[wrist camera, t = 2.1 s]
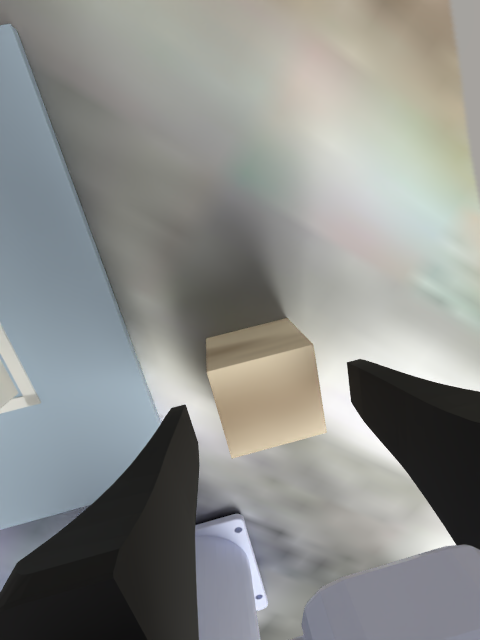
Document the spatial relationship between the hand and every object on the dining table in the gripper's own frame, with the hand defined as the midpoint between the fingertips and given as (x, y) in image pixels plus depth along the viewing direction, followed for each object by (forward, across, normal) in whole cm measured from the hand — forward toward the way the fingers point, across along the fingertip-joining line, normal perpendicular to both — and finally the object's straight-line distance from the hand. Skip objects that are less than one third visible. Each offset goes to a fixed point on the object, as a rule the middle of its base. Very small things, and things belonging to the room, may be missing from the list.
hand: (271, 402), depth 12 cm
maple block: (+4, 0, 0) cm, 4 cm away
